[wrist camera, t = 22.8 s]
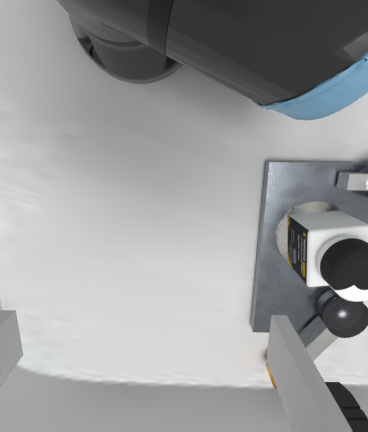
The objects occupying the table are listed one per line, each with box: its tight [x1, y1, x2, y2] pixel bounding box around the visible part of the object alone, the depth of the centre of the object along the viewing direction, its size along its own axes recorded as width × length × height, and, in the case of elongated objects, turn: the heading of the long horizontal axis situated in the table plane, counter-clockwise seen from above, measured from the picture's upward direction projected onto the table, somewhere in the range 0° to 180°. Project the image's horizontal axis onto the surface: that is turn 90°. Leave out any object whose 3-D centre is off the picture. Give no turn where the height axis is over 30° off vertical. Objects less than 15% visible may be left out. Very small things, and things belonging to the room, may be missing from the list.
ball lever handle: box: [266, 289, 368, 389], centre depth 42 cm, size 18×6×3 cm, turn 143°
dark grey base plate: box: [250, 161, 368, 333], centre depth 41 cm, size 26×16×2 cm, turn 179°
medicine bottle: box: [287, 211, 368, 302], centre depth 33 cm, size 7×7×12 cm
